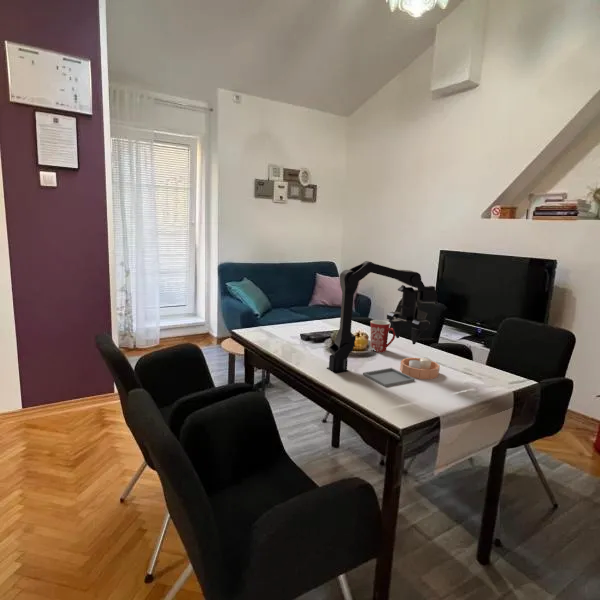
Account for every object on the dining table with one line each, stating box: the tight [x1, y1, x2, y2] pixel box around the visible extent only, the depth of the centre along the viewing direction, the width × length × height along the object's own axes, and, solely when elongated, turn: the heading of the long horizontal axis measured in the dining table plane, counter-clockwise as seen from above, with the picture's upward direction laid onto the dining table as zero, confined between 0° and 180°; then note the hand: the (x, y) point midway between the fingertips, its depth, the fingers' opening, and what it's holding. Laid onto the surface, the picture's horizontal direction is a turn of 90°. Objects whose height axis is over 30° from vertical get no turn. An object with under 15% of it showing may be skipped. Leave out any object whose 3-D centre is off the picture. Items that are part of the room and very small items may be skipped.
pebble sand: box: [420, 357, 432, 370], centre depth 167 cm, size 4×4×4 cm
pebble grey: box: [409, 360, 421, 369], centre depth 164 cm, size 4×4×4 cm
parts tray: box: [362, 367, 416, 388], centre depth 158 cm, size 14×13×1 cm
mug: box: [369, 319, 396, 353], centre depth 192 cm, size 13×9×14 cm
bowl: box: [399, 357, 440, 380], centre depth 165 cm, size 14×14×4 cm
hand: (405, 341), depth 167 cm, fingers open, 9 cm apart
